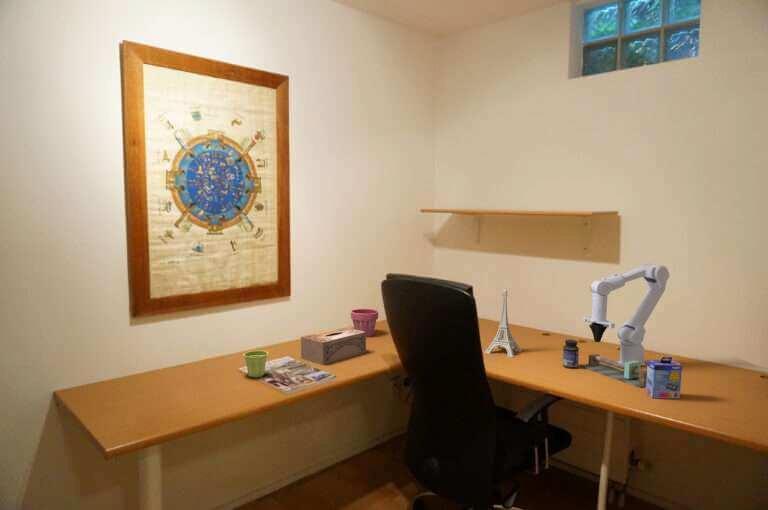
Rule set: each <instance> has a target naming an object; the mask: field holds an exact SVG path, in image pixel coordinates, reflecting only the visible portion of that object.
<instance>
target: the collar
mask: <svg viewBox="0 0 768 510" xmlns="http://www.w3.org/2000/svg"><path fill="white" fill-rule="evenodd" d="M632 366H633V367H636V368H637V369H640V370H641V366H640V362H639V361H636V360H635V361H629V362H625V367H624V370H623V371H624V378H627V379H632V378H637V377H639V375H638V374H635V373H634V374H633V373H631V367H632Z"/></svg>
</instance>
